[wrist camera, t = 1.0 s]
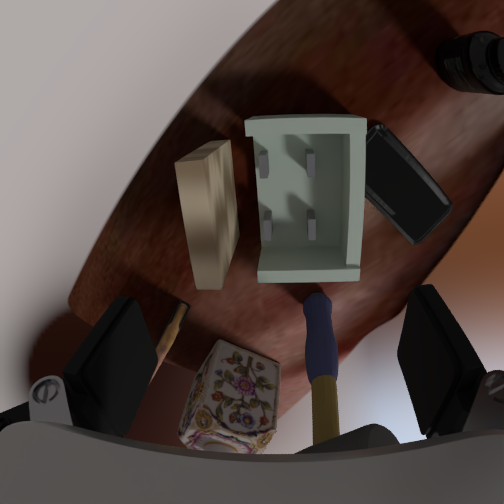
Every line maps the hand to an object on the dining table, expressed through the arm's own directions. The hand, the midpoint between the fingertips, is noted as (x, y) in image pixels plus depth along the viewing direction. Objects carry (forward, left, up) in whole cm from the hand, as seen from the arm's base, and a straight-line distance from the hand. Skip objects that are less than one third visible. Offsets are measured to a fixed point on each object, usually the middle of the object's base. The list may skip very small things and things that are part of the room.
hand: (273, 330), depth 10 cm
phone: (+3, +14, -28) cm, 32 cm away
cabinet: (+3, +2, -28) cm, 28 cm away
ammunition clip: (+24, -18, -28) cm, 41 cm away
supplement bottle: (-13, +22, -28) cm, 38 cm away
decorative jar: (+34, -9, -28) cm, 45 cm away
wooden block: (+3, -7, -28) cm, 29 cm away
